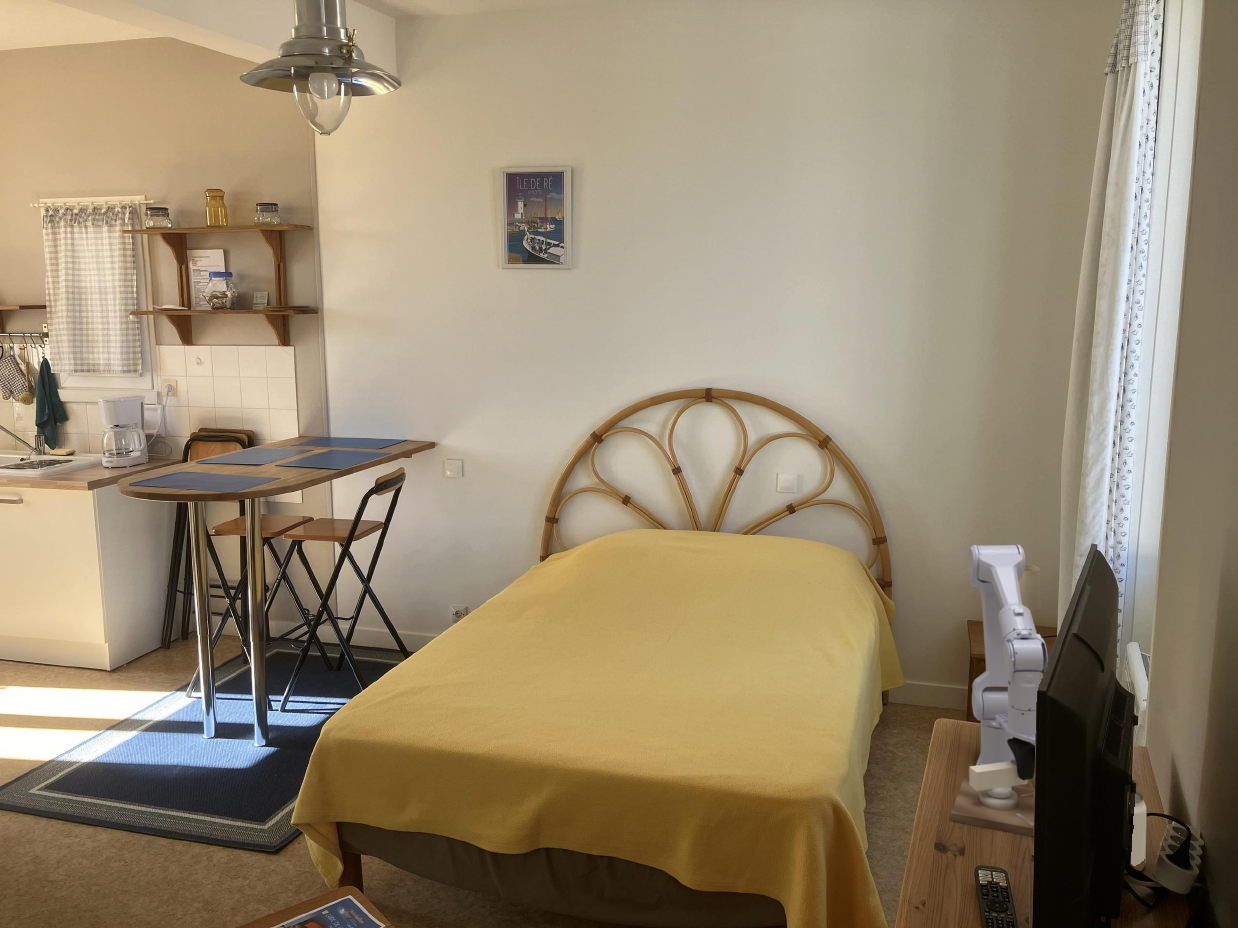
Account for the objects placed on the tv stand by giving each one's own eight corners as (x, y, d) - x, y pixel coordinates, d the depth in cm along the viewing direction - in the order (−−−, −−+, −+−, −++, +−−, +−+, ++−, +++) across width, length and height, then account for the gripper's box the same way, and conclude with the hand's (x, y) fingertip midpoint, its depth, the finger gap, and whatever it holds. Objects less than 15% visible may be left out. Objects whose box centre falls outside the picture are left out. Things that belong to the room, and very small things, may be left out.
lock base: (964, 784, 182) (964, 769, 182) (1043, 797, 176) (1044, 782, 175) (951, 820, 169) (951, 804, 169) (1036, 837, 163) (1036, 820, 162)
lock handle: (979, 801, 169) (979, 773, 168) (966, 789, 174) (966, 762, 173) (1030, 794, 171) (1031, 766, 170) (1016, 783, 175) (1016, 755, 174)
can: (1150, 876, 150) (1152, 805, 148) (1106, 874, 151) (1107, 802, 149) (1137, 854, 156) (1139, 785, 154) (1094, 852, 157) (1096, 783, 156)
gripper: (1073, 716, 163) (1072, 791, 165) (1018, 688, 177) (1018, 758, 179) (1037, 722, 161) (1037, 798, 163) (985, 693, 175) (985, 763, 177)
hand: (1025, 777), depth 171 cm, fingers closed, pressing on lock handle
